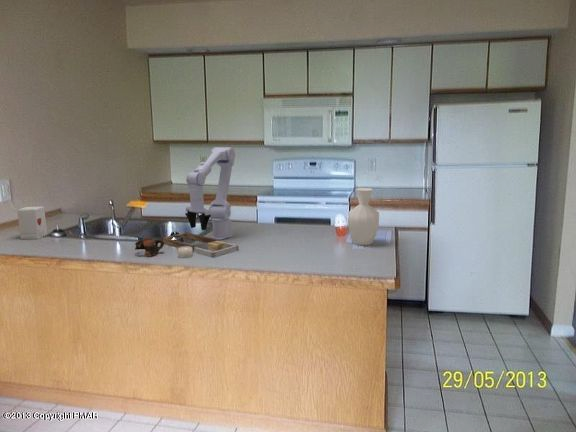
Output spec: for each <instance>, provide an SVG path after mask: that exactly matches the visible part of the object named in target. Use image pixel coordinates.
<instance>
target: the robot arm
mask: <svg viewBox="0 0 576 432" xmlns="http://www.w3.org/2000/svg"><path fill="white" fill-rule="evenodd" d="M210 153H211V154H210V155H209V157H208V158H207V159H206V161H202V162H200V163H199V165H198V166H197V167H196V168H195V169H194V170H193V171H191V172H188V174H187V175H186V179H185V180H186V181H185V182H186V183H187V186H188V189H189V200H190V206H186V207H185V214H184V215H185V216H186V218H187V220H188V222H189V225H190V226H189V227H190V228H191V229H194V228H196V225H197V217H198V219H199V222H200V229H201V231H206V230H207V227H208V224H209V221H210V220H211V222H212V223H211V224H212V225H211V226H212V235H211V236H208V237H209V238H213V239H217V241H221V240H225V239H229V238H233V237H235V235H233V234H234V231H233V228H234V227H233V222H232V220H231V219H230V217H231V215H232V214H231V212H232V211H231V207H232V206H231V204H230V203H229V202H228V201H227V199H228V194H229V193H228V192H229V187H230V181H231V177H232V170H233V166H234V165H235V158H236V153H235V150H234V148H233V147H230V146H229V147H225V146H224V147H222V146H221V147H220V146H214V147H213V148H212V149H211V151H210ZM215 164H217V166H219V167H220V171H219V178H218V183H217V190H216V196H215V199H213V200H212V201H211V202H210V205H209V208H208V209H207V208H205V207H204V205H205V203H204V202H205V201H204V187H203V186H204V184H205V183H206V180H207V176H208V175H209V174H210V173H211V171H212V168H213V166H214V165H215ZM198 214H199V215H198Z"/></svg>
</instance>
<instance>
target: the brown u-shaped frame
mask: <svg viewBox="0 0 576 432" xmlns="http://www.w3.org/2000/svg"><path fill="white" fill-rule="evenodd" d="M176 236H181V237H182V238H183V239H182V240H184V239H189V240H192V239H194V240H193V241H197V242H202V243H205V244H208V243H210V242H214V241H218V240H217V239H213V238H209V237H210V236H205V235H199V234H196V233H191V232H187V231H185V232H182V233H178V234H174V235H170V236H169V235H168V236H165V237H161V240H163V242H164V245H167V246H169V247H170V246H171V247H174V248H177V249H178V248H179V247H183V246H190V247H192V251H193V252H195V245H193V244H191V243H186V242H182V241H180V240H177V241H175V240H171V239H172V238H173V237H176Z"/></svg>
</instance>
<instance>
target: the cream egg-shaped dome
mask: <svg viewBox="0 0 576 432" xmlns="http://www.w3.org/2000/svg"><path fill="white" fill-rule="evenodd" d="M193 252H194V251H192V247H190V246H183V247H179V248H178V247H177V255H178V256H177V257H178V258H181V259H189V258H192V257H193V256H194V254H193ZM188 257H189V258H188Z"/></svg>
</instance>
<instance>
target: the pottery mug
mask: <svg viewBox="0 0 576 432" xmlns="http://www.w3.org/2000/svg"><path fill="white" fill-rule="evenodd" d="M159 243H160V245H159ZM134 245H135V248H134V250H135V251H136V250H144V251H145V252H144V255H145V258H149V257H151V256H157V255H159V252H160V250H162V249H163V248H164V246H165V244H164V242H163V240H162V238H158V239H155V240H153V238H152V237H146V238H143V239H140V240H138V241H136V242H135V243H134Z"/></svg>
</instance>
